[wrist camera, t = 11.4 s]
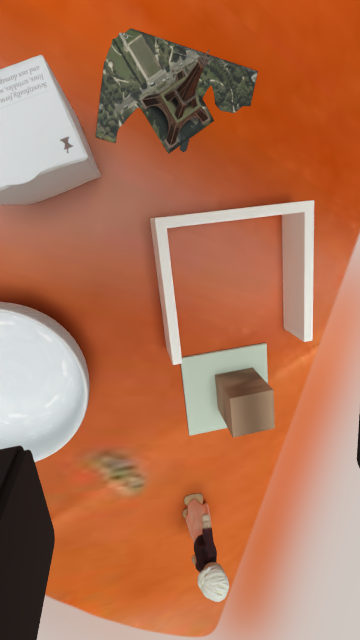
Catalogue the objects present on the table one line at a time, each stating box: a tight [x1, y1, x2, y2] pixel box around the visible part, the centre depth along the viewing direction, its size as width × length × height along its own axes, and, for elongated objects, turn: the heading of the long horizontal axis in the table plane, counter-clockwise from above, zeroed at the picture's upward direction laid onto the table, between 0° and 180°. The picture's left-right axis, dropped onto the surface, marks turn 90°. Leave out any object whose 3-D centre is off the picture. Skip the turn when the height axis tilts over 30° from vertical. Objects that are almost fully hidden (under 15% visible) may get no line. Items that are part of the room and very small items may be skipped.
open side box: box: [150, 200, 314, 365], centre depth 37 cm, size 16×15×5 cm
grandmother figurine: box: [182, 493, 229, 602], centre depth 42 cm, size 8×4×13 cm, turn 2°
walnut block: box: [215, 367, 275, 437], centre depth 41 cm, size 5×5×6 cm
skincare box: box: [0, 55, 101, 205], centre depth 26 cm, size 8×6×15 cm
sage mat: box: [181, 343, 268, 436], centre depth 44 cm, size 11×11×1 cm
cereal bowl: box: [0, 302, 90, 462], centre depth 35 cm, size 17×17×7 cm
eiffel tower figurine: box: [96, 29, 258, 154], centre depth 28 cm, size 15×10×13 cm
